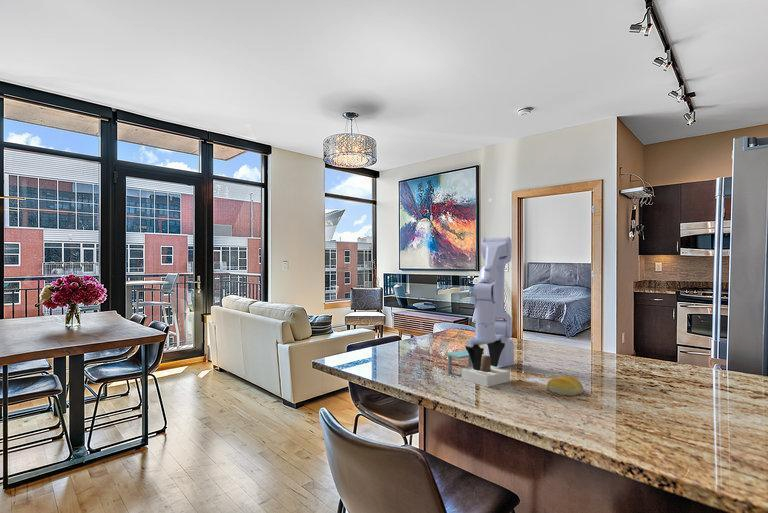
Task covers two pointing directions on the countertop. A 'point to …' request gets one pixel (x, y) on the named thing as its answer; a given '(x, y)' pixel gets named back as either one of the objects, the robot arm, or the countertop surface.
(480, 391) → the countertop surface
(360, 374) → the countertop surface
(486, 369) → the peg
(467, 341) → the robot arm
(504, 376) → the socket block
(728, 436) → the countertop surface
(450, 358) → the awning
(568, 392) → the bread roll
